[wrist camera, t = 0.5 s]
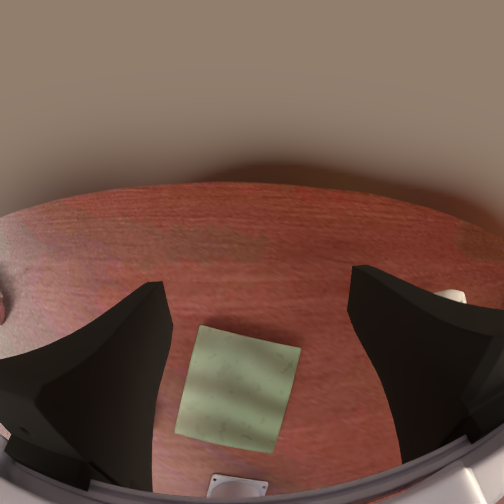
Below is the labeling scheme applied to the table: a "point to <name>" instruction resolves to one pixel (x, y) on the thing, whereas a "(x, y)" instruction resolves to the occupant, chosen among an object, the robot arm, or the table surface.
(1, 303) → the video game controller
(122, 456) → the robot arm
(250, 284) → the table surface
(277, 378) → the green slab
